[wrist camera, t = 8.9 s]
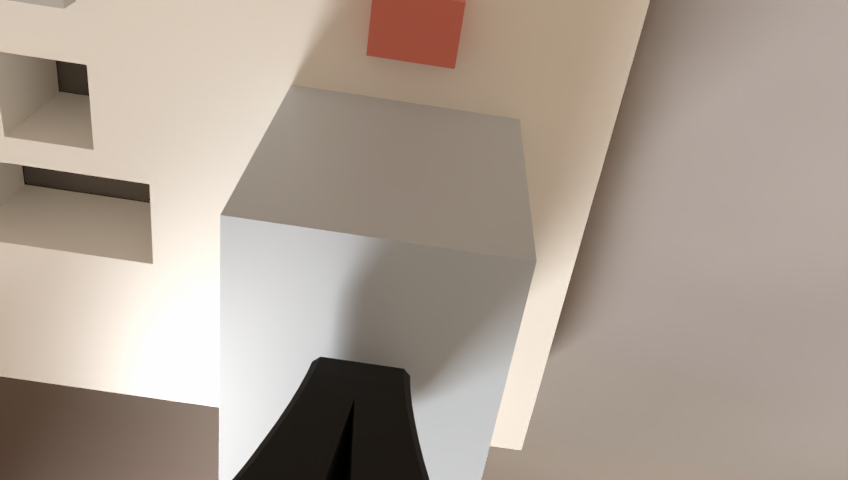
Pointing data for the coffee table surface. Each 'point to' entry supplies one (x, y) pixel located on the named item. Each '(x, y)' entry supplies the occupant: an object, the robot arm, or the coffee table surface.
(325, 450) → the robot arm
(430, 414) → the plug
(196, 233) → the socket board
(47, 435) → the coffee table surface
